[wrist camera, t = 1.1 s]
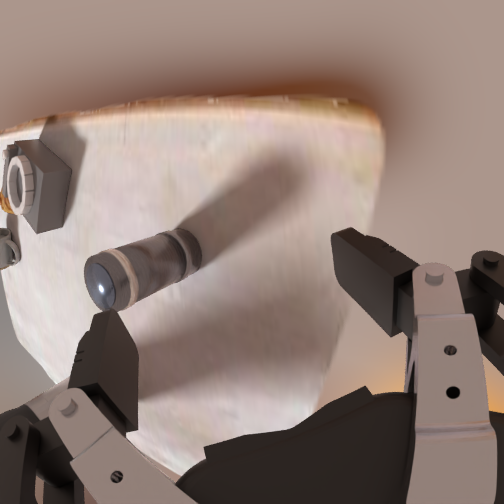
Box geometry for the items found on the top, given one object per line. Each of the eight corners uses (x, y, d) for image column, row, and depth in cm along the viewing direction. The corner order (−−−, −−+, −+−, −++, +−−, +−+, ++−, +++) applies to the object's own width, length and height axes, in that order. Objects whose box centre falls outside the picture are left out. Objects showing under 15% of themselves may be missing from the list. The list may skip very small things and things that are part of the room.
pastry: (23, 174, 48) (7, 177, 45) (28, 208, 49) (12, 211, 46) (10, 184, 52) (-4, 187, 49) (14, 214, 54) (0, 217, 50)
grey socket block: (62, 227, 43) (24, 237, 37) (30, 189, 47) (-3, 195, 40) (71, 169, 39) (29, 175, 33) (38, 139, 42) (3, 142, 36)
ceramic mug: (7, 256, 61) (-17, 264, 54) (4, 225, 58) (-21, 232, 51) (23, 270, 57) (-4, 280, 50) (19, 237, 54) (-9, 245, 47)
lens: (192, 284, 33) (114, 328, 24) (159, 257, 35) (79, 289, 25) (209, 245, 31) (125, 281, 21) (172, 218, 32) (85, 242, 23)
